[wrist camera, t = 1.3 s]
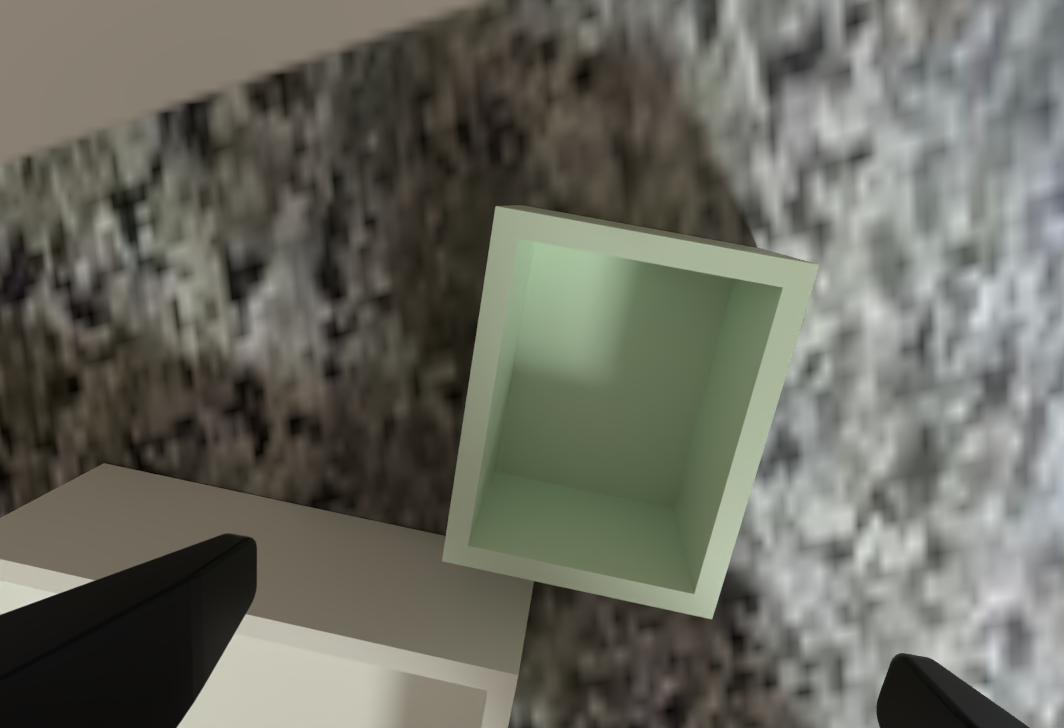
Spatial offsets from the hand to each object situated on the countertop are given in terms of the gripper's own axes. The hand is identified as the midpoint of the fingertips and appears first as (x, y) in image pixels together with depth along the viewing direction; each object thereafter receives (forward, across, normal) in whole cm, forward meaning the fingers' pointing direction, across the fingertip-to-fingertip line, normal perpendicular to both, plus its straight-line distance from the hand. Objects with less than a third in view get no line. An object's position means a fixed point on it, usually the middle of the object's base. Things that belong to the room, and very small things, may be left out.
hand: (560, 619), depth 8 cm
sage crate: (+11, -1, -1) cm, 11 cm away
